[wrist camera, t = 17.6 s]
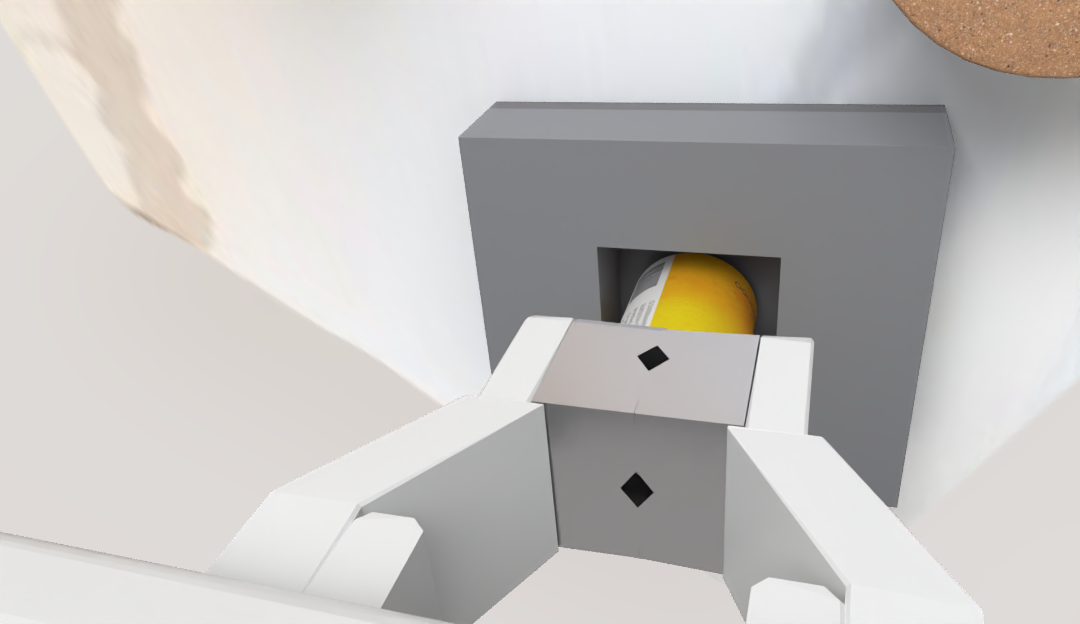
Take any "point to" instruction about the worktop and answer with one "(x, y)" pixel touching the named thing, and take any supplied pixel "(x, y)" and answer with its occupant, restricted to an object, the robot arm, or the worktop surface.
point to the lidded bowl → (1004, 33)
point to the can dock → (729, 233)
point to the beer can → (693, 296)
